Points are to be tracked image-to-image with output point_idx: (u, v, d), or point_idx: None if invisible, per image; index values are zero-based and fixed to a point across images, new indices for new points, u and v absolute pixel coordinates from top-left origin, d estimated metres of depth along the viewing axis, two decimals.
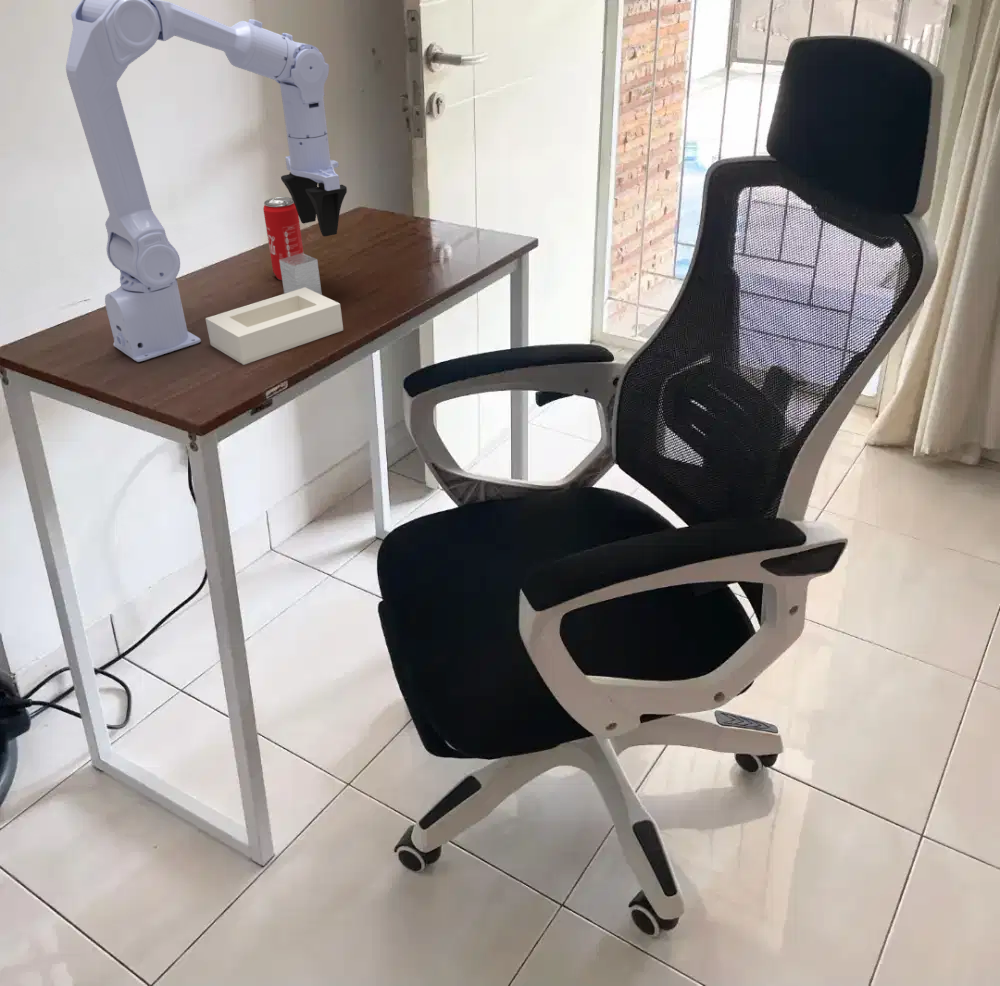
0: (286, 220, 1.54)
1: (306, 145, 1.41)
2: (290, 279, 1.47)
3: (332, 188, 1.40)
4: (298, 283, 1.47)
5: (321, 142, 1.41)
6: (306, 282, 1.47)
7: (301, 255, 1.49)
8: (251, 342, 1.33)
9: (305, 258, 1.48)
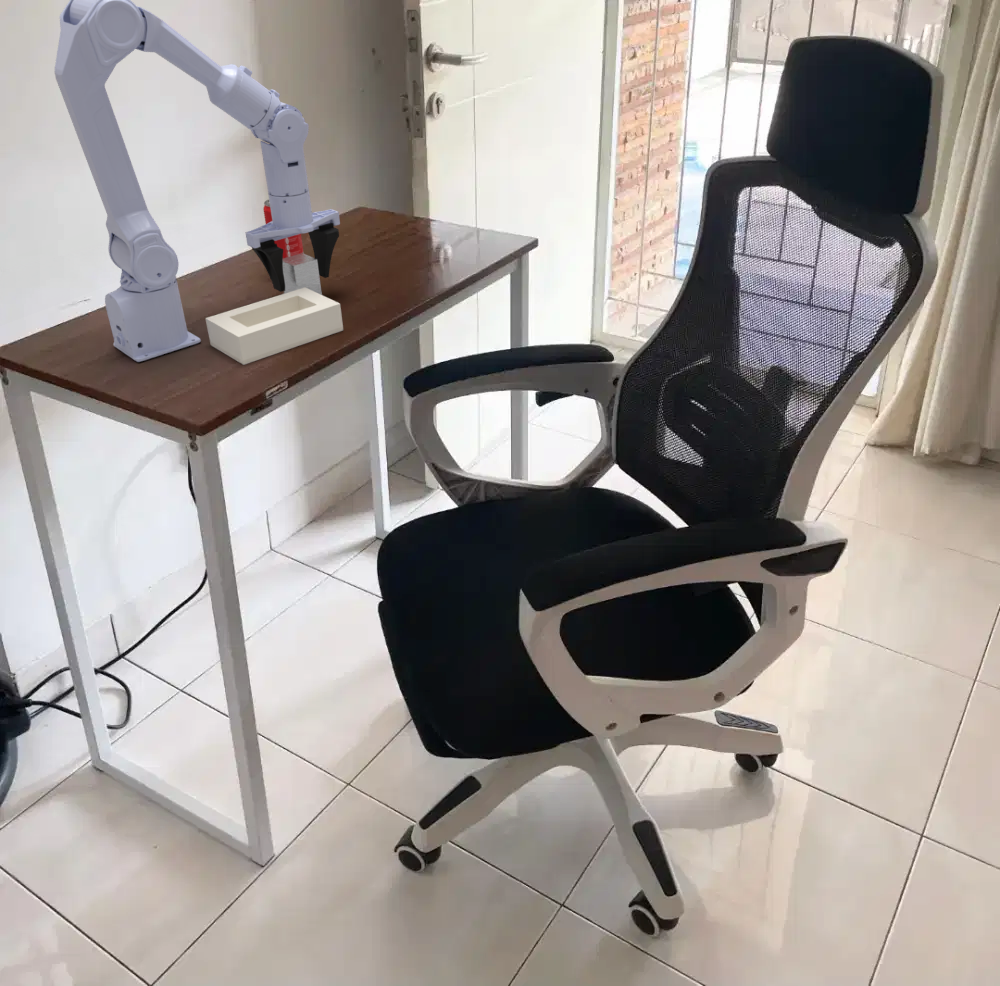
0: None
1: (269, 199, 1.42)
2: (290, 279, 1.47)
3: (250, 245, 1.41)
4: (298, 283, 1.47)
5: (276, 202, 1.40)
6: (306, 282, 1.47)
7: (301, 255, 1.49)
8: (251, 342, 1.33)
9: (305, 258, 1.48)
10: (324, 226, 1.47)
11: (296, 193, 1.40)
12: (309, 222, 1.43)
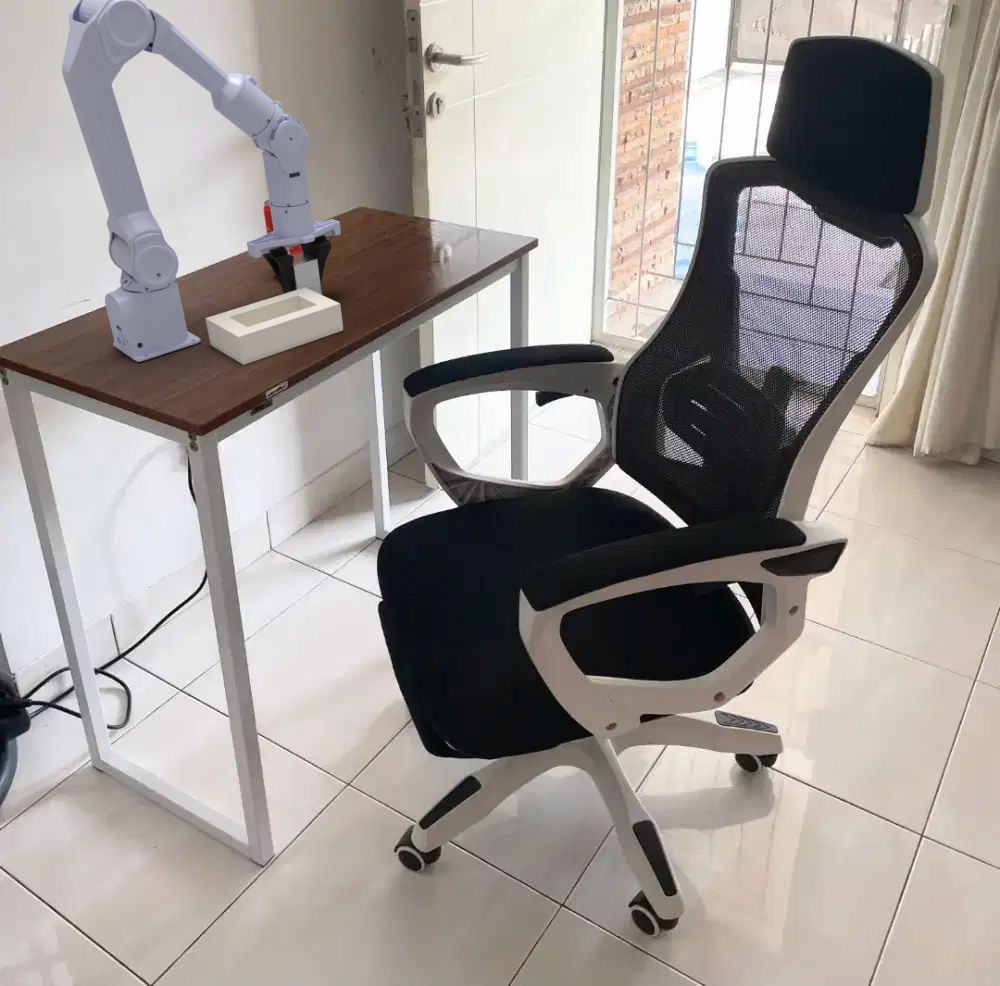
0: None
1: None
2: None
3: (251, 254, 1.42)
4: (298, 283, 1.47)
5: (277, 212, 1.41)
6: (306, 282, 1.47)
7: (301, 255, 1.49)
8: (251, 342, 1.33)
9: (305, 258, 1.48)
10: (325, 236, 1.48)
11: (297, 203, 1.41)
12: (310, 232, 1.44)
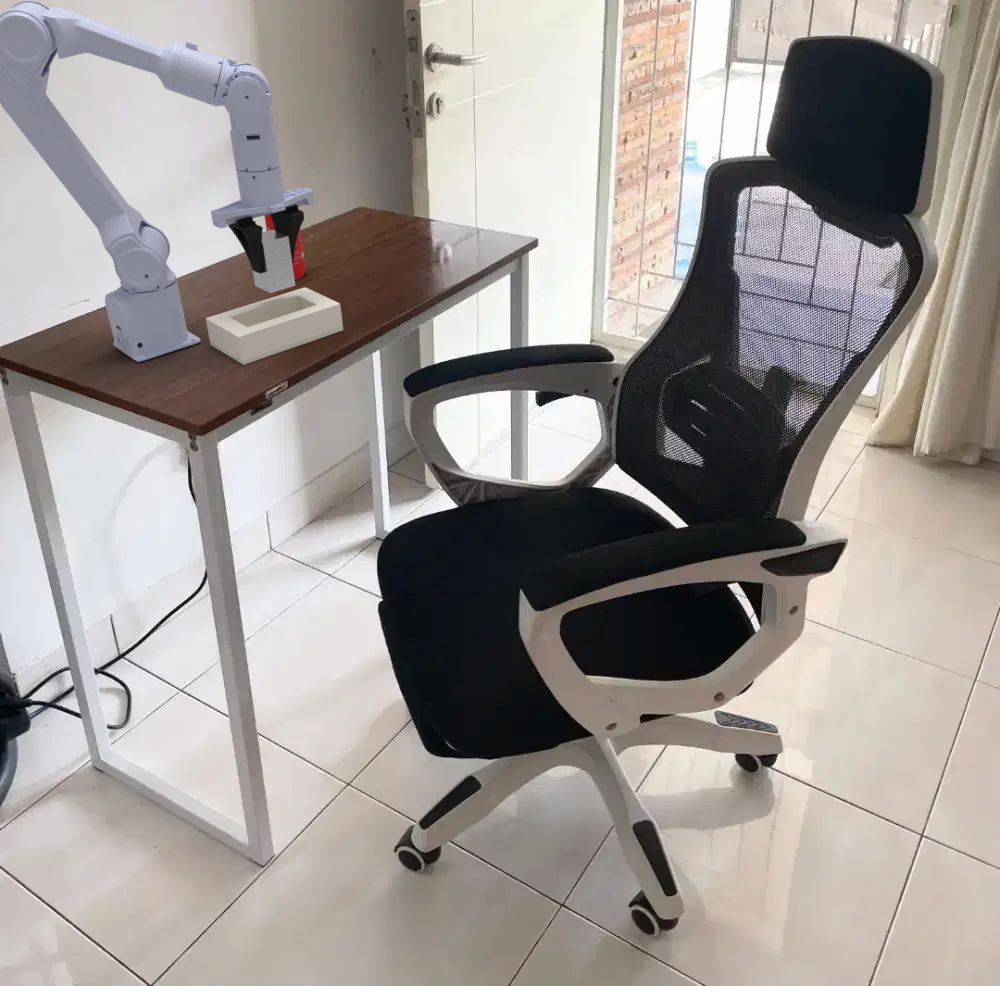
0: None
1: (237, 175, 1.30)
2: None
3: (216, 224, 1.30)
4: (268, 262, 1.35)
5: (244, 178, 1.29)
6: (276, 261, 1.36)
7: (271, 232, 1.37)
8: (251, 342, 1.33)
9: (275, 235, 1.36)
10: (297, 206, 1.36)
11: (256, 169, 1.28)
12: (281, 200, 1.32)
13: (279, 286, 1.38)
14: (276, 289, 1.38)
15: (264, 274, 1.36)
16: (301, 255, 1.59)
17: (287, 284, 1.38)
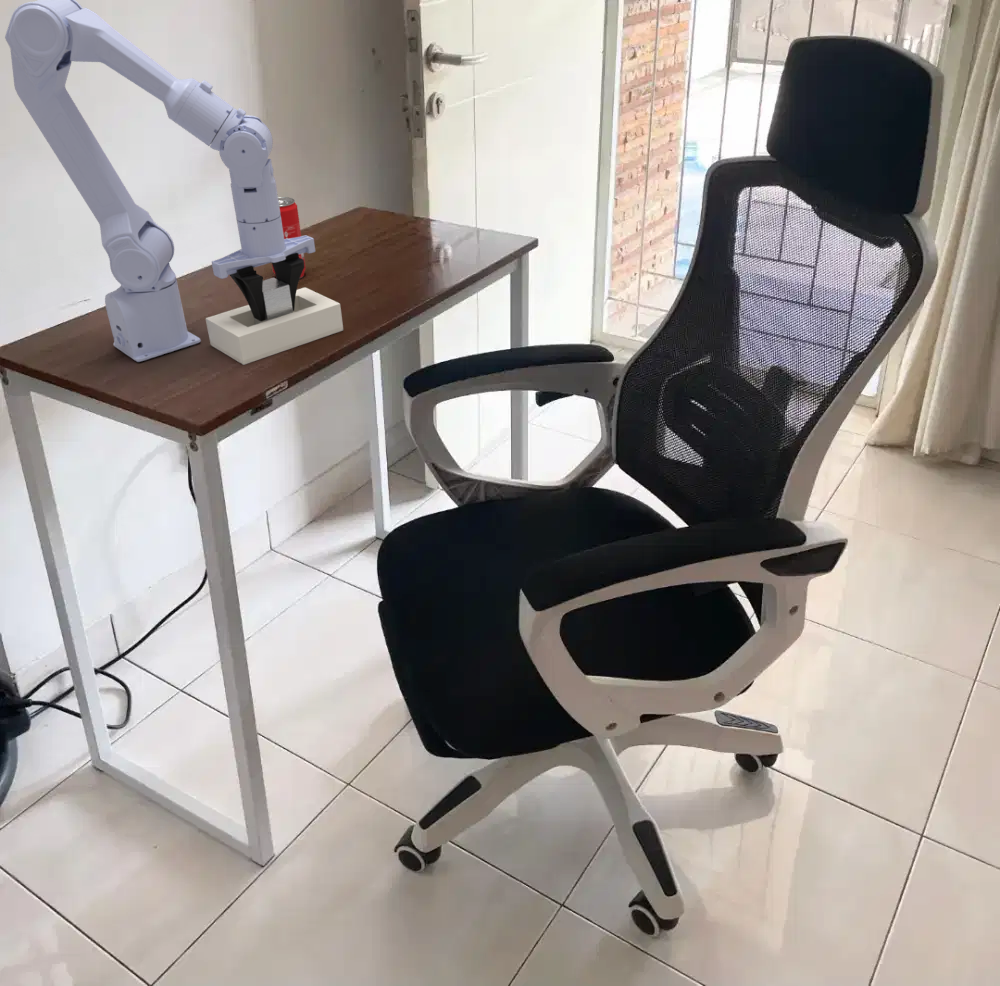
0: (286, 220, 1.54)
1: None
2: None
3: (216, 275, 1.31)
4: (268, 310, 1.36)
5: (245, 229, 1.30)
6: (277, 309, 1.37)
7: (272, 280, 1.38)
8: (251, 342, 1.33)
9: (276, 283, 1.37)
10: (298, 254, 1.37)
11: (253, 221, 1.29)
12: (281, 250, 1.33)
13: None
14: None
15: None
16: (301, 255, 1.59)
17: None
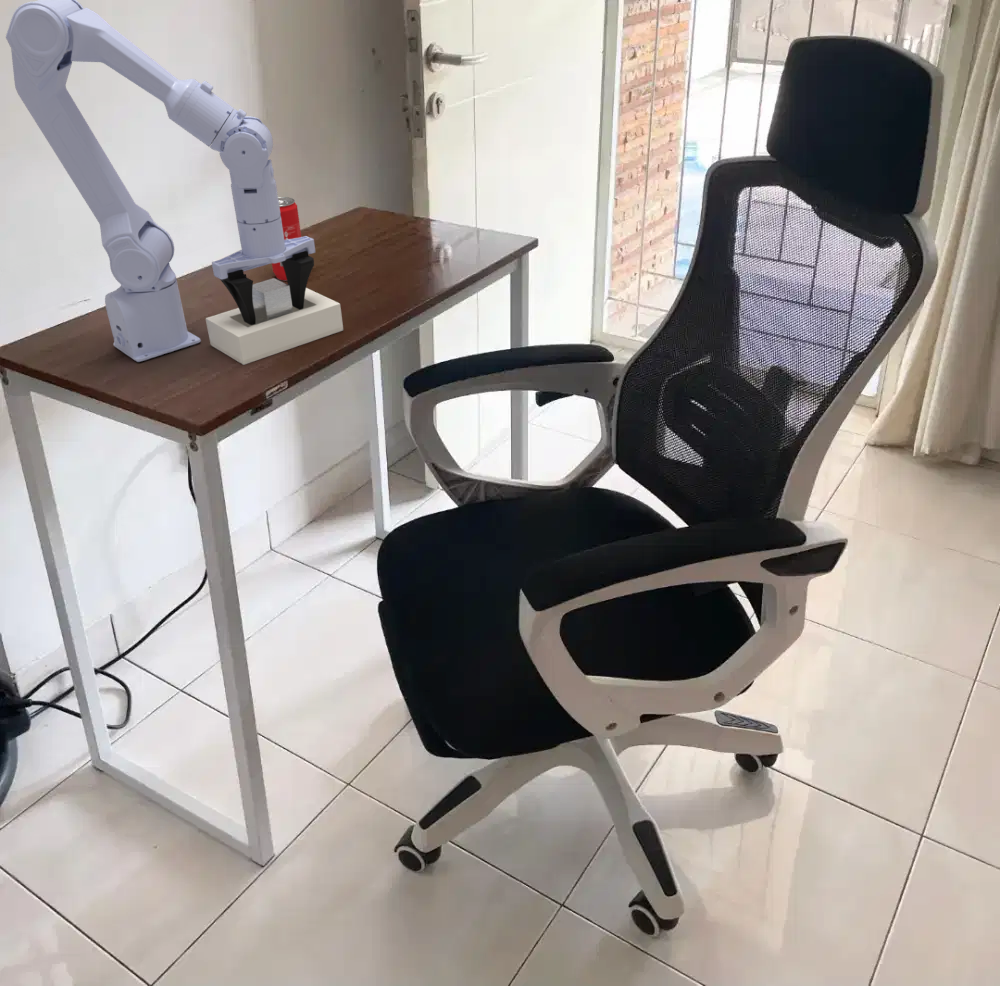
0: (286, 220, 1.54)
1: None
2: (260, 306, 1.37)
3: (216, 275, 1.31)
4: (269, 311, 1.36)
5: (245, 230, 1.30)
6: (277, 310, 1.37)
7: (272, 280, 1.38)
8: (251, 342, 1.33)
9: (276, 284, 1.37)
10: (298, 255, 1.37)
11: (253, 222, 1.29)
12: (281, 251, 1.33)
13: None
14: None
15: None
16: None
17: None
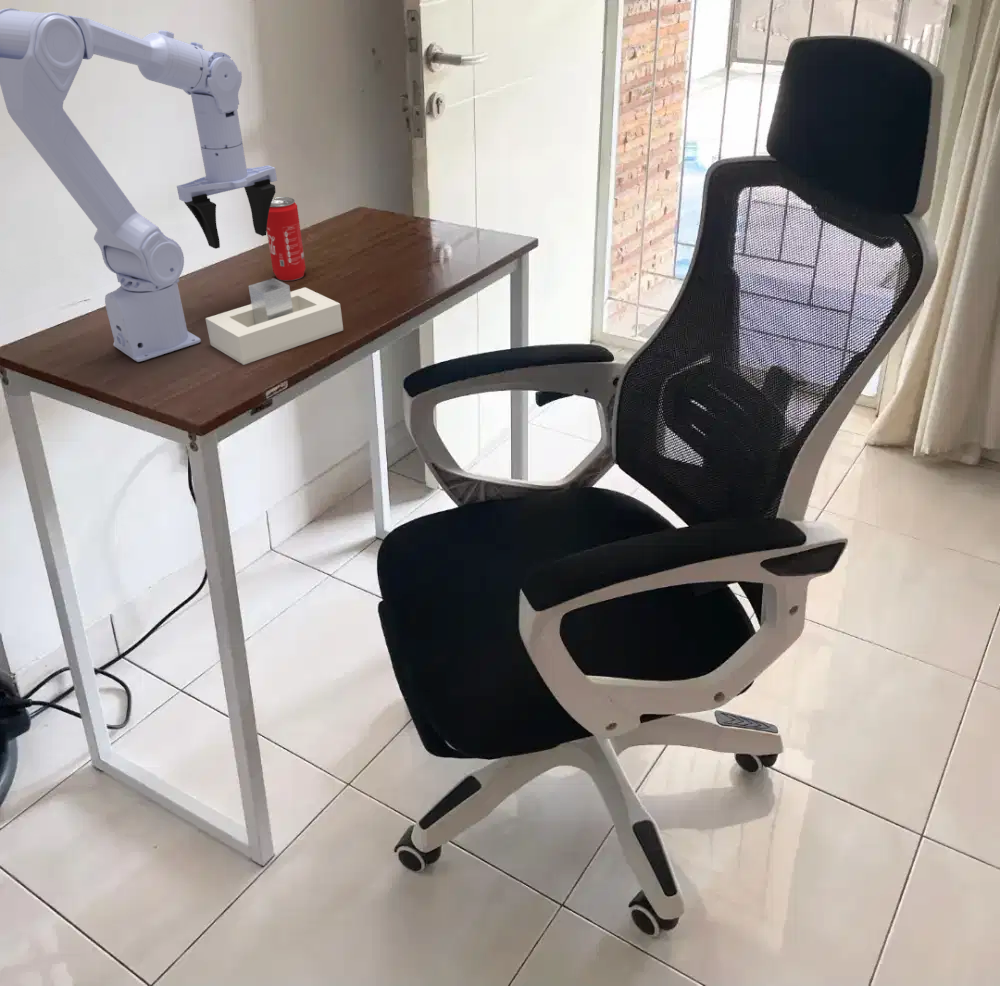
0: (286, 220, 1.54)
1: None
2: (260, 306, 1.37)
3: (181, 199, 1.38)
4: (269, 311, 1.36)
5: (208, 155, 1.37)
6: (277, 310, 1.37)
7: (272, 280, 1.38)
8: (251, 342, 1.33)
9: (276, 284, 1.37)
10: (260, 182, 1.44)
11: (234, 144, 1.37)
12: (243, 177, 1.40)
13: None
14: None
15: None
16: (301, 255, 1.59)
17: None
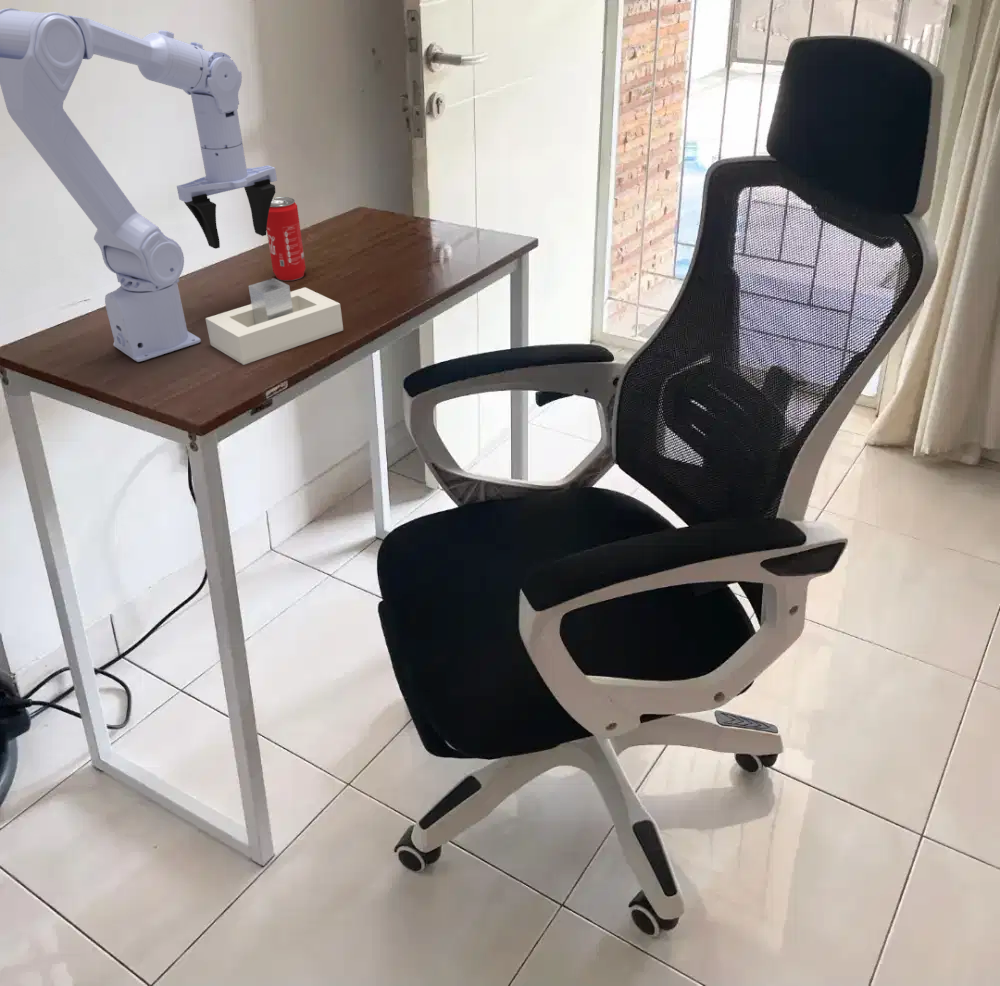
0: (286, 220, 1.54)
1: None
2: (260, 306, 1.37)
3: (181, 199, 1.38)
4: (269, 311, 1.36)
5: (208, 155, 1.37)
6: (277, 310, 1.37)
7: (272, 280, 1.38)
8: (251, 342, 1.33)
9: (276, 284, 1.37)
10: (260, 182, 1.44)
11: (234, 144, 1.37)
12: (243, 177, 1.40)
13: None
14: None
15: None
16: (301, 255, 1.59)
17: None
